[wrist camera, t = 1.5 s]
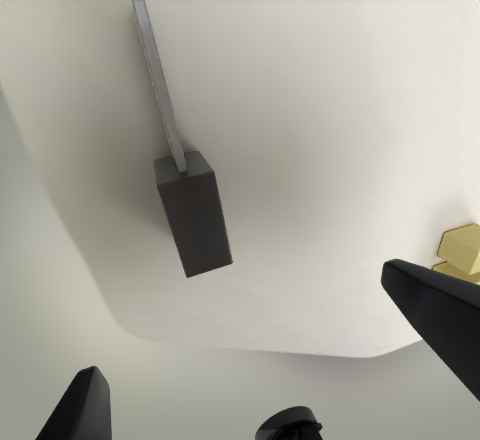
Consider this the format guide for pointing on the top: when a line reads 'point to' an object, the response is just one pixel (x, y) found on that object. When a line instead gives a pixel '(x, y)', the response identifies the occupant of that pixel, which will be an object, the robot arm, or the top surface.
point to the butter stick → (457, 272)
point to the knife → (184, 178)
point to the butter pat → (462, 248)
